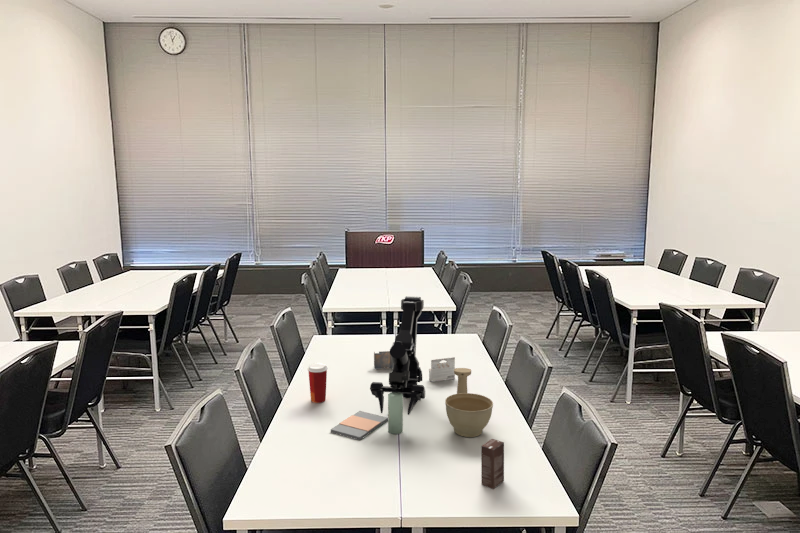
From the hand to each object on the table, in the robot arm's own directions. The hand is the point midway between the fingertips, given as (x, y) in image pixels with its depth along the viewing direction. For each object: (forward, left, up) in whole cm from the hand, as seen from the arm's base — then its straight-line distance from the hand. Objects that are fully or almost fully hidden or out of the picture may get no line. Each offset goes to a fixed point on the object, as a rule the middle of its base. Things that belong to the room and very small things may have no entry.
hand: (394, 413), depth 200 cm
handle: (-13, +30, -7) cm, 33 cm away
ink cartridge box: (-44, +33, -7) cm, 55 cm away
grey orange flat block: (-8, -10, -7) cm, 15 cm away
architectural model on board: (-65, +14, -7) cm, 67 cm away
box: (+39, +18, -7) cm, 44 cm away
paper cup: (-35, -22, -7) cm, 42 cm away
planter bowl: (+6, +25, -7) cm, 26 cm away
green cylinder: (-1, 0, -7) cm, 7 cm away
